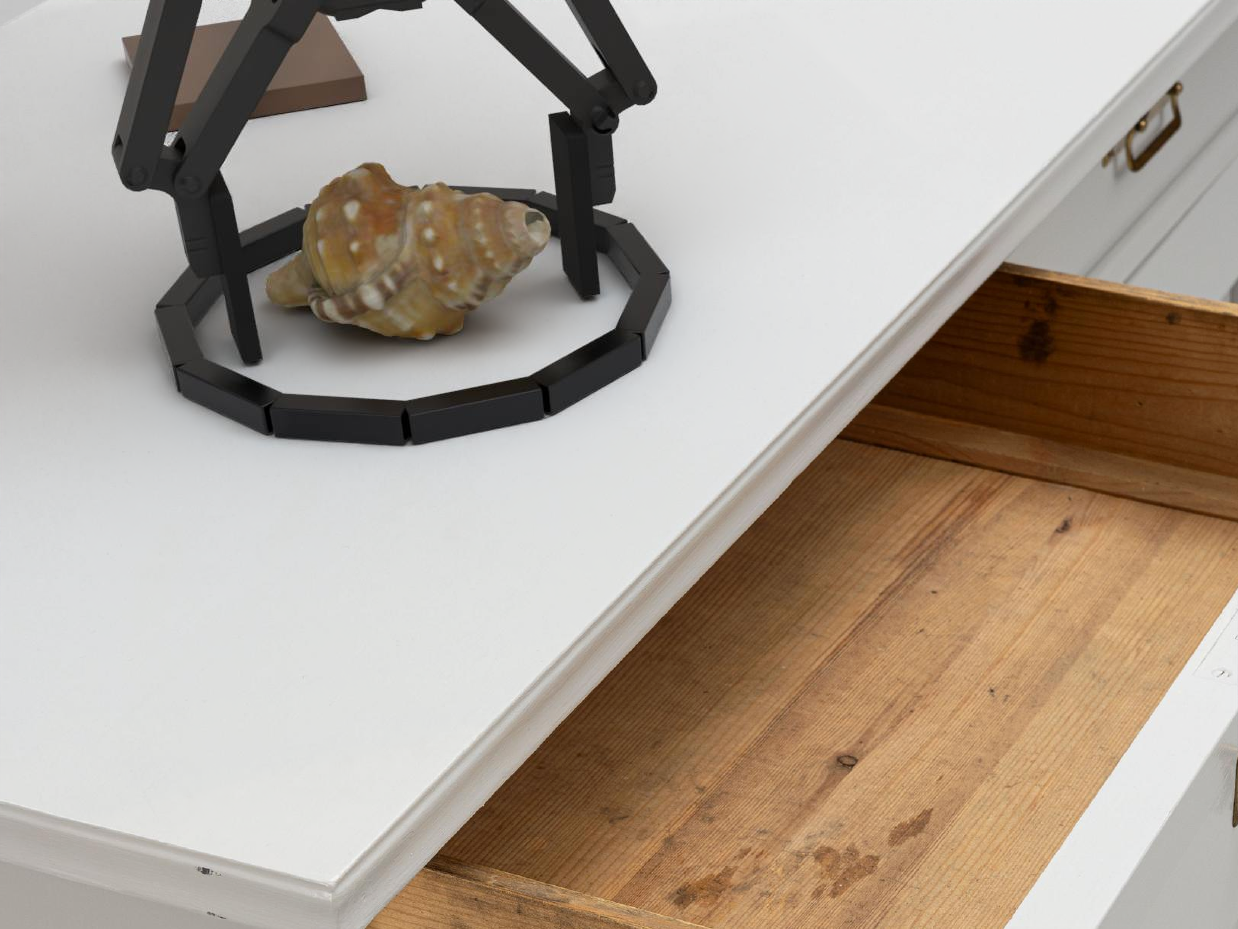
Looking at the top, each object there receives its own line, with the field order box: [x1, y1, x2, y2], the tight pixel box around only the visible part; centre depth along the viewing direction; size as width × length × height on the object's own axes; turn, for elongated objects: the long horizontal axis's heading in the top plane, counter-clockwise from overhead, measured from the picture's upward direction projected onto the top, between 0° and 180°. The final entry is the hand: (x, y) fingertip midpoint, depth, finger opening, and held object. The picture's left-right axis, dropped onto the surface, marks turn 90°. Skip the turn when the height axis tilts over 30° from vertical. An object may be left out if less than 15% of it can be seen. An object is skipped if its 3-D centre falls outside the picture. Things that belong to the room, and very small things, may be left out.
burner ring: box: [153, 184, 673, 446], centre depth 86 cm, size 19×19×1 cm
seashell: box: [264, 161, 551, 341], centre depth 84 cm, size 9×8×10 cm
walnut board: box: [121, 12, 368, 133], centre depth 106 cm, size 10×10×1 cm
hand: (417, 314), depth 86 cm, fingers open, 13 cm apart
